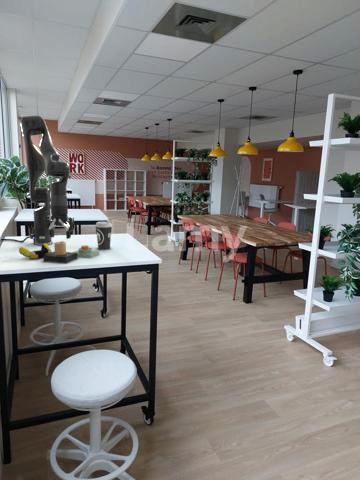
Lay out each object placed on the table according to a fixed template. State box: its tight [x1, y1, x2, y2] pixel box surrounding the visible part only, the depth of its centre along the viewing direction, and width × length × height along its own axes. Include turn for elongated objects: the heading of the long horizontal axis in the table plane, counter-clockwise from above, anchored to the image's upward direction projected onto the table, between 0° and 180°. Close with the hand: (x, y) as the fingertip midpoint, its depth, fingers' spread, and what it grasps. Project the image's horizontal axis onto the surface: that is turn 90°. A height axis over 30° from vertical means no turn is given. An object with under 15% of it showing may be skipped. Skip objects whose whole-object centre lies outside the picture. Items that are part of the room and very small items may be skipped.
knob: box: [53, 240, 67, 255], centre depth 164 cm, size 5×5×6 cm
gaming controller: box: [18, 243, 52, 260], centre depth 170 cm, size 15×6×10 cm
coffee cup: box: [94, 221, 113, 251], centre depth 192 cm, size 10×10×15 cm
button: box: [80, 244, 90, 250], centre depth 175 cm, size 4×4×2 cm
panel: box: [42, 250, 78, 264], centre depth 165 cm, size 12×10×3 cm
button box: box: [72, 247, 100, 259], centre depth 176 cm, size 11×9×4 cm
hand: (60, 237), depth 163 cm, fingers open, 8 cm apart
